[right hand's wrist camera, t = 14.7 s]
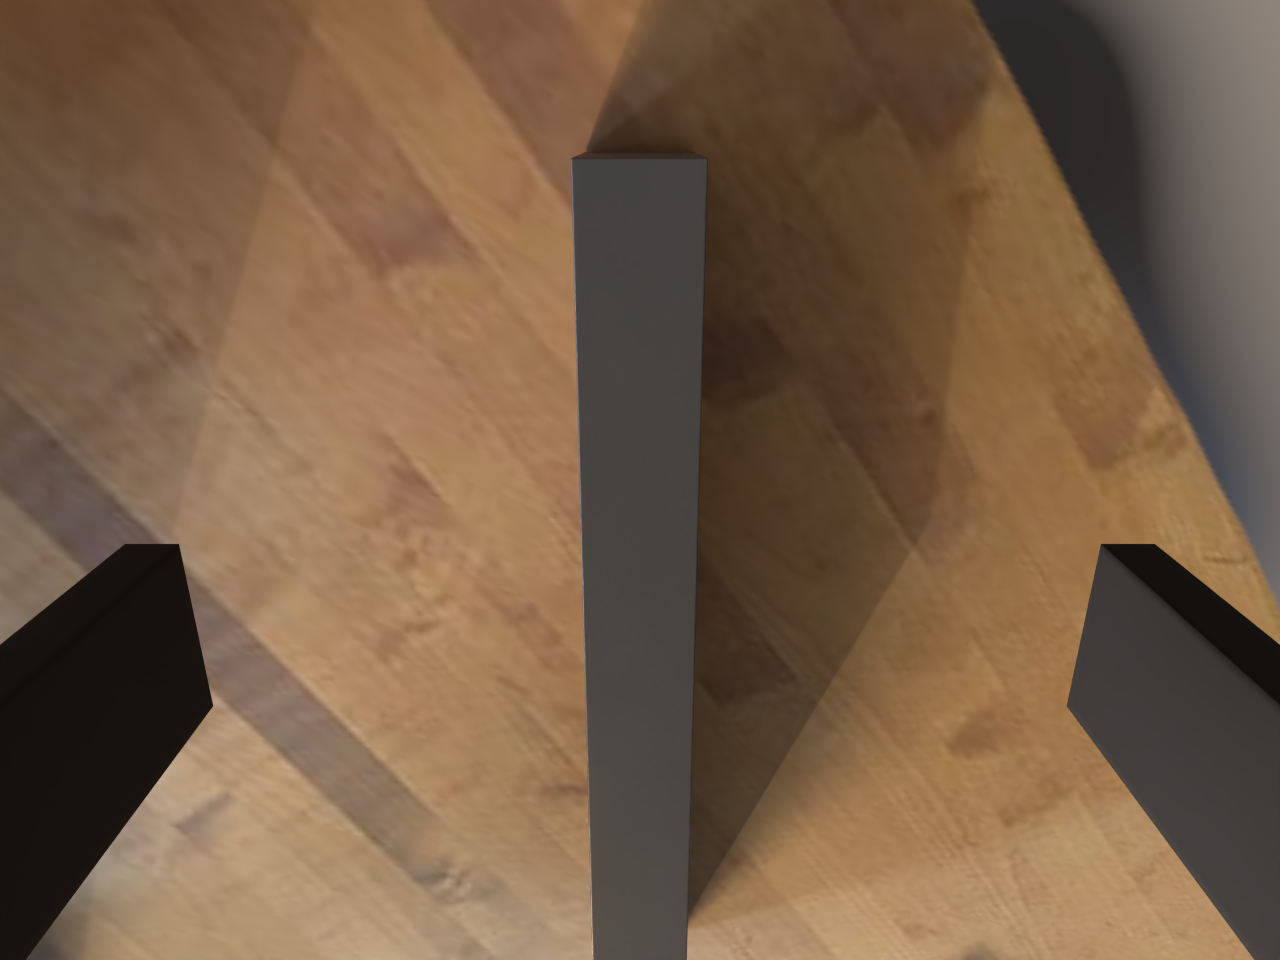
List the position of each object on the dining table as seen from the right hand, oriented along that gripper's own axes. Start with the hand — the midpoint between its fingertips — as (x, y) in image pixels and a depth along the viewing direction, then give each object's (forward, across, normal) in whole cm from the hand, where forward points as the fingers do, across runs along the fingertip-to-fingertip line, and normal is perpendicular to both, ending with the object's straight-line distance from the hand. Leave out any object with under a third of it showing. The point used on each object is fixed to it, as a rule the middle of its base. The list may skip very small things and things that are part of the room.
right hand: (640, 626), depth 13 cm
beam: (+34, 0, -20) cm, 40 cm away
